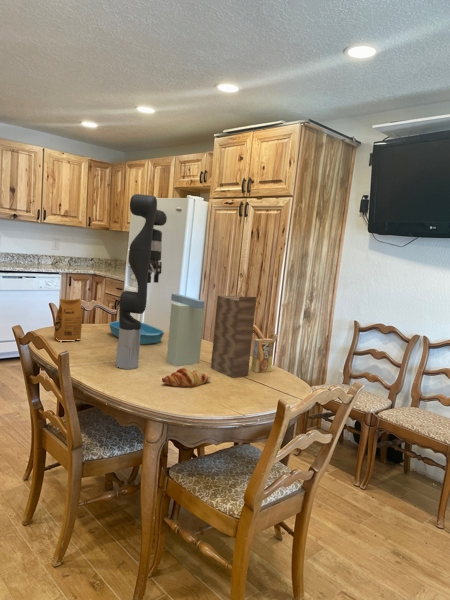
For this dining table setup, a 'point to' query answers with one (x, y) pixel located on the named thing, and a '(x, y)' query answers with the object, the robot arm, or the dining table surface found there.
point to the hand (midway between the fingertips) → (152, 282)
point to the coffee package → (68, 320)
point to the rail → (187, 301)
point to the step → (185, 334)
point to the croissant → (186, 378)
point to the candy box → (262, 355)
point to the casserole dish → (141, 333)
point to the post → (233, 335)
